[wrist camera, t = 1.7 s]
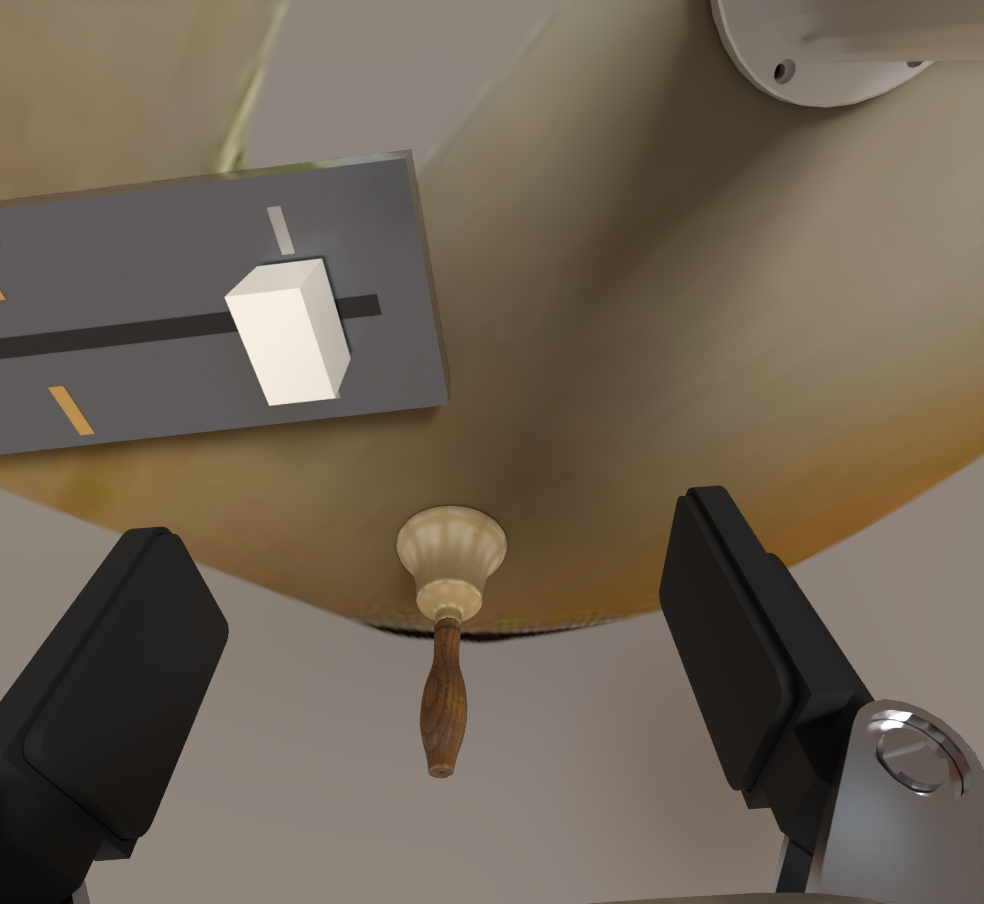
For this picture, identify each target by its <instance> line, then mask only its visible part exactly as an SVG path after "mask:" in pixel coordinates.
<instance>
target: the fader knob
mask: <svg viewBox="0 0 984 904" xmlns="http://www.w3.org/2000/svg"><path fill="white" fill-rule="evenodd" d="M225 300H226V302H227V304H228V307H229V309H230V312H231V314H232V317H233V319H234V321H235V324H236V326H237V329H238V331H239V334H240V336H241V338H242V341H243V343H244V346H245V348H246V351H247V353H248V355H249V358H250V360H251V363H252V365H253V368H254V370H255V372H256V375H257V377H258V380H259V382H260V385H261V387H262V389H263V392H264V394H265V397H266V399H267V402H268V404H269V406H271V405H280V404H289V403H298V402H307V401H315V400H324V399H333V398H335V397H336V395H337V392H338V390H339V387H340V385H341V382H342V380H343V377H344V374H345V372H346V369H347V367H348V364H349V362H350V359H351V358H350V354H349V351H348V347H347V344H346V340H345V337H344V333H343V330H342V326H341V323H340V319H339V316H338V313H337V309H336V306H335V302H334V299H333V295H332V292H331V288H330V285H329V281H328V278H327V274H326V271H325V267H324V264H323V260H322V259H314V260H306V261H297V262H289V263H281V264H272V265H264V266H257V267H256V268H255V269H254V270H253V271H251V272H250V273H249V274H248V275H247V276H246V277H245V278H244V279H243V280H242V281H241V282H240V283H239V284H238V285H237V286H236V287H235V288H233V289H232V290H231V291H230V292H229V293H228V294H227V295H226V296H225Z"/></svg>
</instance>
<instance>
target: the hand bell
mask: <svg viewBox="0 0 984 904" xmlns="http://www.w3.org/2000/svg"><path fill="white" fill-rule="evenodd" d="M396 549H397V553H398V556H399V558H400V560H401V562H402V564H403V565H404V567H405V568H406V569H407V570H408V571H409V572H410V573H411V574H412V575H414V578H415V583H416V601H417V605H418V608H419V609H420V611H421V612H422V613H423V614H424V615H425V616H426V617H428V618H430V619H432V620H434V621H435V626H434V633H435V636H434V660H433V665H432V668H431V671H430V673H429V676H428V678H427V681H426V684H425V688H424V692H423V697H422V703H421V713H420V729H421V736H422V741H423V745H424V749H425V753H426V757H427V762H428V771H429V775H430V776H433V777H436V778H446V777H448V776H450V775H452V774H453V771H454V766H455V762H456V758H457V755H458V752H459V749H460V746H461V744H462V741H463V737H464V733H465V728H466V722H467V698H466V689H465V684H464V680H463V677H462V673H461V670H460V665H459V646H460V632H461V622H462V621H465V620H468V619H469V618H471V617H473V616H474V615H475V614H476V613H477V612H478V611H479V609H480V607H481V605H482V598H483V591H484V585H485V581H486V579H487V577H489V576H490V575H491V574H493V573H494V572H495V571H496V570H497V568H498V567H499V566H500V564H501V563H502V561H503V559H504V557H505V554H506V551H507V541H506V536H505V534H504V532H503V530H502V529H501V527H500V526H499V525H498V523H497V522H496V521H495V520H493V519H492V518H491V517H489V516H488V515H486V514H484V513H482V512H480V511H478V510H475V509H472V508H468V507H463V506H439V507H434V508H430V509H427V510H424V511H422V512H419V513H417V514H416V515H414V516H413V517H411V518H410V519H409V520H408V521H407V522H406V523H405V524H404V525H403V526H402V528H401V529H400V531H399V533H398V535H397V541H396Z"/></svg>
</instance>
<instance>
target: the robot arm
mask: <svg viewBox="0 0 984 904" xmlns="http://www.w3.org/2000/svg"><path fill="white" fill-rule="evenodd" d="M710 3H711V9H712V15H713V19H714V22H715V24H716V27H717V30H718V33H719V35H720V38H721V41H722V44H723V46H724V48H725V50H726V51H727V53H728V55H729V56H730V58H731V59H732V61H733V62H734V64H735V66H736V67H737V69H738V70H739V71H740V72H741V73H742V74H743V75H744V76H745V77H746V78H747V79H748V80H749V81H750V82H751V83H752V84H753V85H754V86H755V87H756V88H757V89H759V90H761V91H763V92H765V93H767V94H768V95H770V96H772V97H774V98H776V99H778V100H780V101H784V102H789V103H793V104H797V105H801V106H814V107H834V106H842V105H850V104H855V103H858V102H861V101H864V100H867V99H870V98H873V97H876V96H879V95H882V94H884V93H886V92H888V91H890V90H891V89H893V88H895V87H897V86H899V85H901V84H903V83H905V82H907V81H908V80H910V79H912V78H913V77H915V76H916V75H918V74H919V73H920V72H922V71H923V70H924V69H926V68H927V67H929V66H930V65H931V64H933V63H934V62H935V61H971V60H984V0H710ZM777 65H779V67H780V72H779V74H778V76H777V77H776V78H774V72H775V69H776V67H777ZM659 597H660V603H661V607H662V610H663V613H664V616H665V618H666V621H667V623H668V626H669V629H670V631H671V633H672V636H673V639H674V642H675V644H676V647H677V650H678V652H679V655H680V657H681V660H682V663H683V666H684V668H685V671H686V673H687V676H688V679H689V681H690V684H691V686H692V689H693V692H694V694H695V697H696V700H697V703H698V705H699V708H700V710H701V713H702V716H703V718H704V721H705V724H706V726H707V729H708V732H709V734H710V737H711V739H712V742H713V745H714V747H715V750H716V752H717V755H718V758H719V760H720V763H721V766H722V768H723V771H724V774H725V776H726V779H727V781H728V783H729V785H730V786H731V787H732V789H733V790H741V791H742V794H743V797H744V799H745V802H746V804H747V807H748V809H758V808H771V809H772V812H773V814H774V817H775V819H776V821H777V824H778V826H779V828H780V831H781V832H783V833H784V838H783V842H782V845H781V849H780V852H779V856H778V860H777V863H776V867H775V871H774V874H773V879H772V882H771V886H770V890H769V893H750V894H749V893H748V894H731V895H713V896H695V897H677V898H659V899H644V900H632V901H617V902H604V903H591V904H984V769H983V767H982V765H981V763H980V761H979V760H978V758H977V756H976V754H975V752H974V751H973V750H972V749H971V747H970V746H969V745H968V744H967V743H966V742H965V740H964V739H963V738H962V737H961V736H960V735H959V734H958V733H957V732H956V731H955V730H953V729H952V728H951V727H950V726H949V725H947V724H946V723H945V722H943V721H942V720H941V719H939V718H938V717H936V716H934V715H932V714H931V713H929V712H927V711H925V710H924V709H922V708H919V707H916V706H914V705H911V704H908V703H905V702H901V701H894V700H886V699H884V700H878V701H875V700H874V699H873V697H872V696H871V694H870V693H869V691H868V690H867V688H866V687H865V685H864V684H863V682H862V681H861V679H860V678H859V676H858V675H857V673H856V672H855V670H854V669H853V667H852V666H851V664H850V663H849V661H848V660H847V658H846V656H845V655H844V653H843V652H842V650H841V649H840V647H839V646H838V644H837V643H836V641H835V640H834V638H833V637H832V635H831V634H830V632H829V631H828V629H827V628H826V627H825V625H824V623H823V622H822V620H821V619H820V617H819V616H818V614H817V613H816V611H815V610H814V608H813V607H812V605H811V604H810V602H809V601H808V599H807V598H806V596H805V595H804V593H803V592H802V590H801V589H800V588H799V586H798V584H797V583H796V581H795V580H794V578H793V577H792V575H791V574H790V572H789V571H788V569H787V568H786V566H785V565H784V563H783V562H782V561H781V560H780V559H779V557H778V556H776V555H774V554H773V553H766V551H765V549H764V548H763V546H762V545H761V543H760V542H759V540H758V539H757V537H756V535H755V534H754V532H753V531H752V529H751V528H750V526H749V525H748V523H747V521H746V520H745V518H744V517H743V515H742V514H741V512H740V511H739V509H738V508H737V506H736V504H735V503H734V501H733V500H732V498H731V497H730V495H729V494H728V492H727V490H726V489H725V488H724V487H722V486H707V487H693V488H689V489H688V491H687V493H686V496H680V497H679V498H678V500H677V504H676V509H675V514H674V519H673V524H672V529H671V534H670V539H669V544H668V549H667V554H666V559H665V564H664V569H663V574H662V579H661V584H660V590H659ZM228 631H229V629H228V623H227V621H226V619H225V617H224V616H223V614H222V612H221V610H220V608H219V607H218V605H217V603H216V601H215V599H214V598H213V596H212V594H211V592H210V590H209V588H208V587H207V585H206V583H205V581H204V579H203V578H202V576H201V574H200V572H199V571H198V569H197V567H196V565H195V563H194V561H193V560H192V558H191V556H190V554H189V552H188V551H187V549H186V547H185V545H184V543H183V542H182V540H181V538H180V537H179V536H178V535H177V534H172V533H171V531H170V530H169V529H167V528H166V527H151V528H138V529H130V530H128V531H126V532H125V533H124V534H123V535H122V537H121V538H120V539H119V541H118V542H117V543H116V545H115V546H114V547H113V549H112V550H111V552H110V553H109V554H108V556H107V557H106V558H105V560H104V561H103V562H102V564H101V565H100V567H99V568H98V569H97V571H96V572H95V573H94V575H93V576H92V577H91V579H90V580H89V581H88V583H87V584H86V586H85V587H84V588H83V590H82V591H81V592H80V594H79V595H78V596H77V598H76V599H75V601H74V602H73V603H72V605H71V606H70V608H69V609H68V610H67V612H66V613H65V614H64V616H63V617H62V618H61V620H60V621H59V622H58V624H57V625H56V626H55V628H54V629H53V631H52V632H51V633H50V635H49V636H48V637H47V639H46V640H45V641H44V643H43V644H42V646H41V647H40V648H39V650H38V651H37V652H36V654H35V655H34V657H33V658H32V659H31V661H30V662H29V663H28V665H27V666H26V667H25V669H24V670H23V672H22V673H21V674H20V676H19V677H18V678H17V680H16V681H15V683H14V684H13V685H12V686H11V688H10V689H9V691H8V692H7V693H6V695H5V696H4V697H3V699H2V700H1V701H0V904H90V901H89V896H88V892H87V888H86V883H85V877H86V875H87V872H88V870H89V868H90V866H91V864H92V862H93V860H95V861H104V860H116V859H129V858H130V856H131V854H132V852H133V849H134V847H135V844H136V842H137V840H138V838H139V837H142V836H143V835H144V834H145V833H146V832H147V831H148V829H149V828H150V826H151V824H152V822H153V820H154V817H155V815H156V813H157V810H158V808H159V805H160V803H161V800H162V798H163V796H164V793H165V791H166V788H167V786H168V783H169V781H170V779H171V776H172V773H173V771H174V769H175V766H176V764H177V762H178V759H179V757H180V754H181V752H182V749H183V747H184V745H185V742H186V740H187V737H188V735H189V732H190V730H191V727H192V725H193V722H194V720H195V718H196V715H197V713H198V710H199V708H200V706H201V703H202V701H203V698H204V696H205V694H206V691H207V689H208V686H209V684H210V681H211V679H212V677H213V674H214V672H215V669H216V667H217V664H218V662H219V659H220V657H221V655H222V652H223V649H224V647H225V645H226V642H227V639H228V633H229V632H228Z"/></svg>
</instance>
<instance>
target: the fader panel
mask: <svg viewBox="0 0 984 904" xmlns="http://www.w3.org/2000/svg"><path fill="white" fill-rule="evenodd" d="M314 259H322V260H323V264H324V267H325V271H326V274H327V278H328V281H329V285H330V288H331V292H332V295H333V299H334V302H335V306H336V309H337V313H338V316H339V319H340V323H341V326H342V330H343V333H344V337H345V340H346V344H347V347H348V351H349V354H350V358H351V359H350V362H349V364H348V367H347V369H346V372H345V374H344V377H343V380H342V382H341V385H340V387H339V390H338V392H337V395H336V397H335V398H333V399H324V400H315V401H307V402H298V403H289V404H280V405H271V406H269V404H268V402H267V399H266V397H265V394H264V392H263V389H262V387H261V385H260V382H259V380H258V377H257V375H256V372H255V370H254V368H253V365H252V363H251V360H250V358H249V355H248V353H247V351H246V348H245V346H244V343H243V341H242V338H241V336H240V334H239V331H238V329H237V326H236V324H235V321H234V319H233V317H232V314H231V312H230V309H229V307H228V304H227V302H226V300H225V296H226V295H227V294H228V293H229V292H230V291H231V290H232V289H233V288H235V287H236V286H237V285H238V284H239V283H240V282H241V281H242V280H243V279H244V278H245V277H246V276H247V275H248V274H249V273H250V272H251V271H253V270H254V269H255V268H256V267H257V266H264V265H272V264H281V263H289V262H297V261H306V260H314ZM449 396H450V374H449V368H448V362H447V356H446V351H445V345H444V339H443V333H442V327H441V321H440V315H439V309H438V303H437V297H436V292H435V286H434V280H433V274H432V268H431V262H430V256H429V250H428V244H427V239H426V233H425V227H424V221H423V215H422V209H421V203H420V197H419V191H418V185H417V180H416V174H415V168H414V162H413V156H412V150H411V149H410V150H402V151H394V152H386V153H378V154H370V155H362V156H355V157H346V158H339V159H330V160H322V161H314V162H306V163H298V164H290V165H282V166H274V167H267V168H258V169H250V170H242V171H234V172H226V173H218V174H210V175H202V176H194V177H186V178H178V179H170V180H162V181H154V182H146V183H138V184H130V185H122V186H114V187H106V188H98V189H90V190H82V191H74V192H66V193H58V194H50V195H42V196H34V197H26V198H18V199H10V200H2V201H0V455H2V454H11V453H20V452H29V451H38V450H47V449H56V448H65V447H74V446H83V445H92V444H101V443H110V442H119V441H128V440H137V439H146V438H155V437H164V436H173V435H182V434H191V433H200V432H209V431H218V430H227V429H236V428H245V427H254V426H263V425H272V424H281V423H290V422H299V421H308V420H317V419H326V418H335V417H344V416H353V415H362V414H371V413H380V412H389V411H398V410H407V409H415V408H424V407H433V406H442V405H449Z"/></svg>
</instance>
